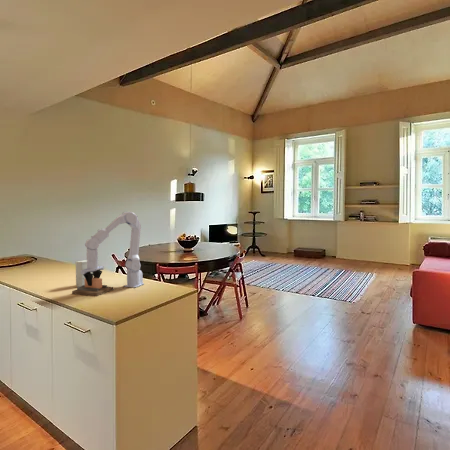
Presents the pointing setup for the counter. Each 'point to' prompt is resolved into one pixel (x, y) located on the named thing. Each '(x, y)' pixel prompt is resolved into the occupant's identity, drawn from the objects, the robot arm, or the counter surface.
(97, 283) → the terracotta cardboard box
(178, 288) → the counter surface
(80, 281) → the skincare box
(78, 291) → the display stand
